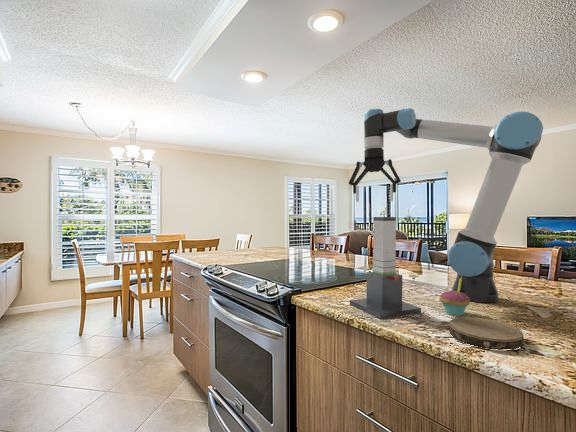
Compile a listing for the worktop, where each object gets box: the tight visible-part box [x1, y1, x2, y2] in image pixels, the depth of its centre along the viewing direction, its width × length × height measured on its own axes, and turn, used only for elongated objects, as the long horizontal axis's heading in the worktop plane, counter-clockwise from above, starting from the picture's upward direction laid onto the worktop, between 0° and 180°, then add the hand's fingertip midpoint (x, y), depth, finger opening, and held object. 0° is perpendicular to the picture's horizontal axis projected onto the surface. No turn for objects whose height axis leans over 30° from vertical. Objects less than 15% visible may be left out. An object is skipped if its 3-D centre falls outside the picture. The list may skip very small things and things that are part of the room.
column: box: [372, 216, 397, 276], centre depth 106 cm, size 5×5×22 cm
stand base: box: [349, 271, 422, 320], centre depth 106 cm, size 16×16×12 cm
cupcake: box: [438, 276, 471, 317], centre depth 100 cm, size 9×8×12 cm
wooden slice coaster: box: [449, 316, 525, 349], centre depth 81 cm, size 16×16×3 cm
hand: (374, 201), depth 130 cm, fingers open, 13 cm apart
